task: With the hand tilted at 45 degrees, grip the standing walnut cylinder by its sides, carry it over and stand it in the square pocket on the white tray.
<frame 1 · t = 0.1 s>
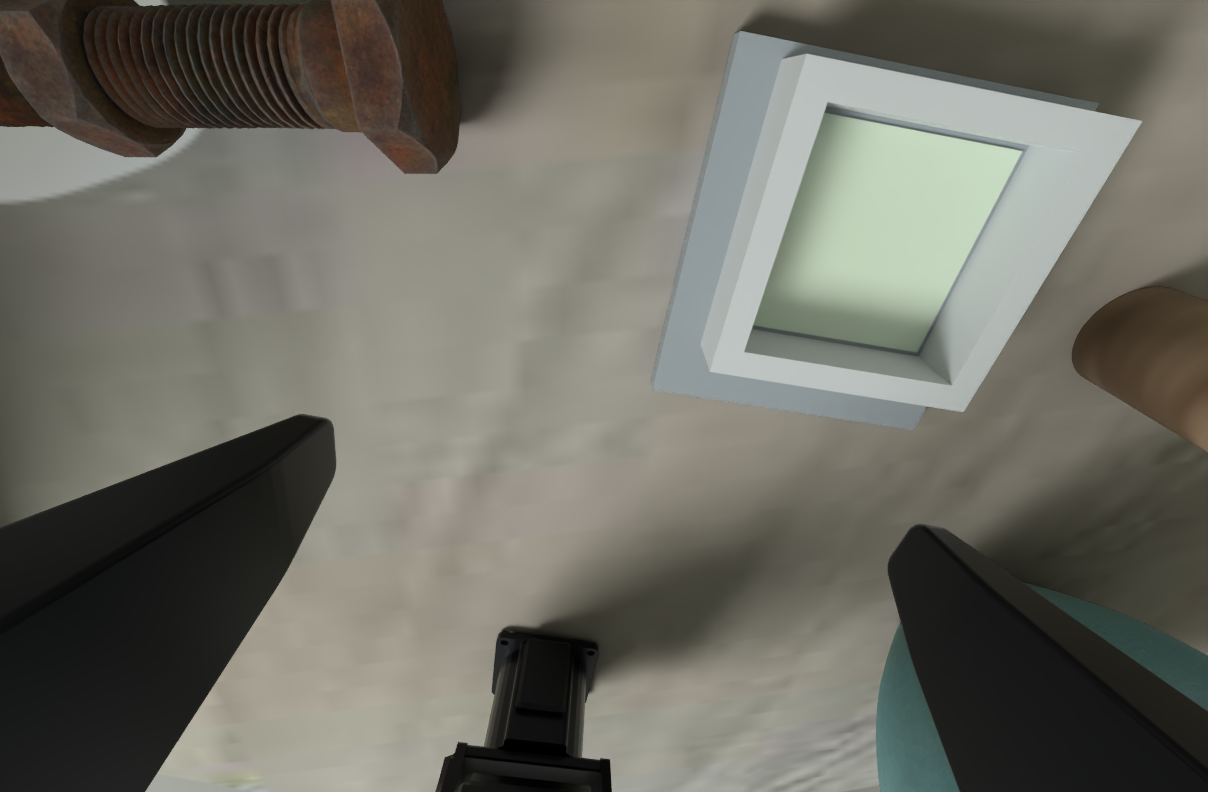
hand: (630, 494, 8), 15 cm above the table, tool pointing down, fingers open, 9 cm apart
white tray: (833, 260, 20), on the table
bolt: (246, 68, 18), on the table
teal bowl: (967, 622, 32), on the table
walnut cylinder: (1129, 337, 22), on the table
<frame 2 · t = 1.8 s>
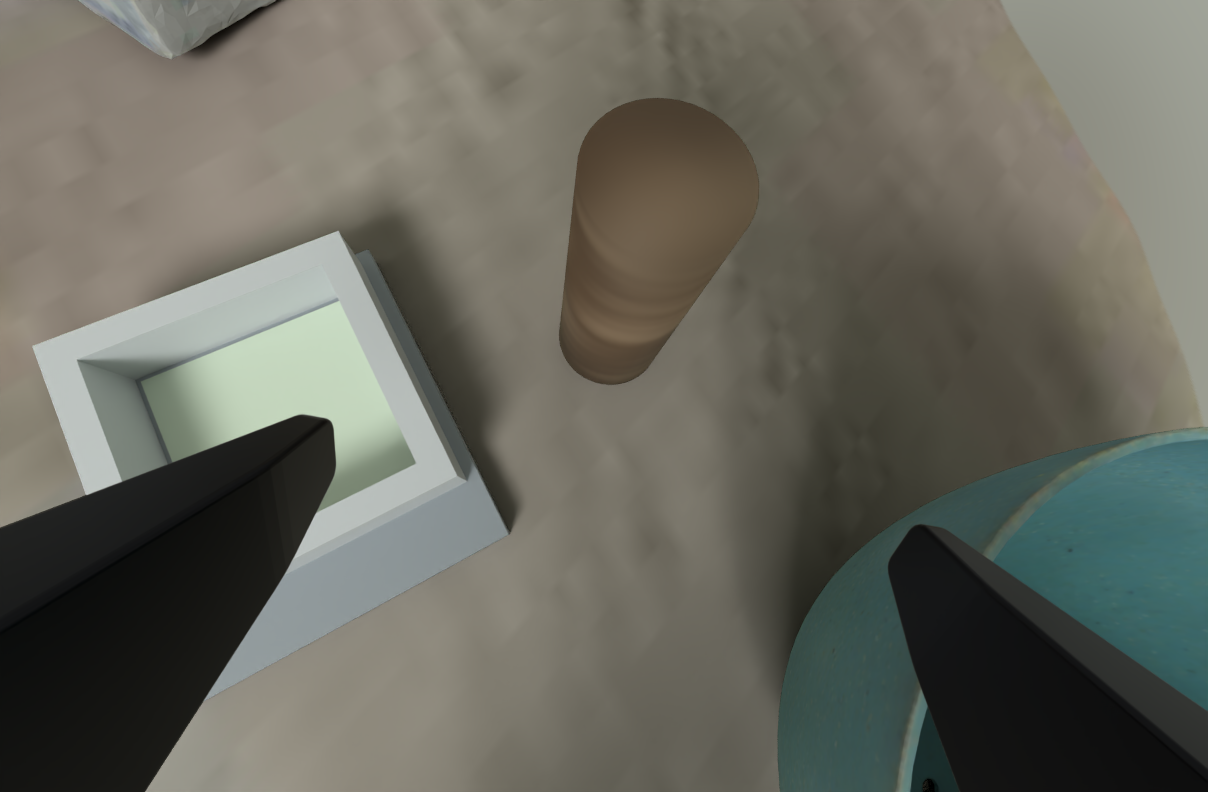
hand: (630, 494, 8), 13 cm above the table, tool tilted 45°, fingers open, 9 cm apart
white tray: (294, 458, 20), on the table
teal bowl: (897, 701, 21), on the table
walnut cylinder: (608, 336, 23), on the table
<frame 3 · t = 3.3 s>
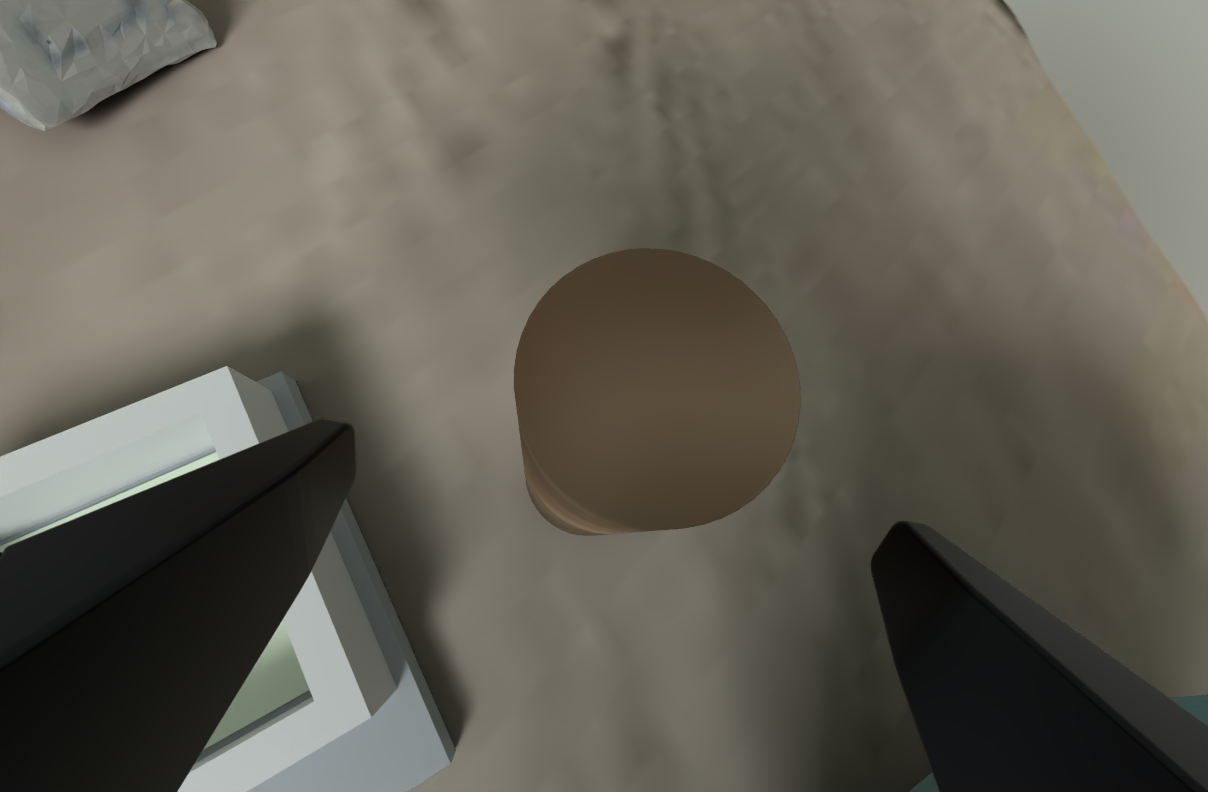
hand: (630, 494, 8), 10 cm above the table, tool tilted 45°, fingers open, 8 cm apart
white tray: (170, 655, 15), on the table
light grey box: (70, 32, 20), on the table
walnut cylinder: (588, 471, 18), on the table
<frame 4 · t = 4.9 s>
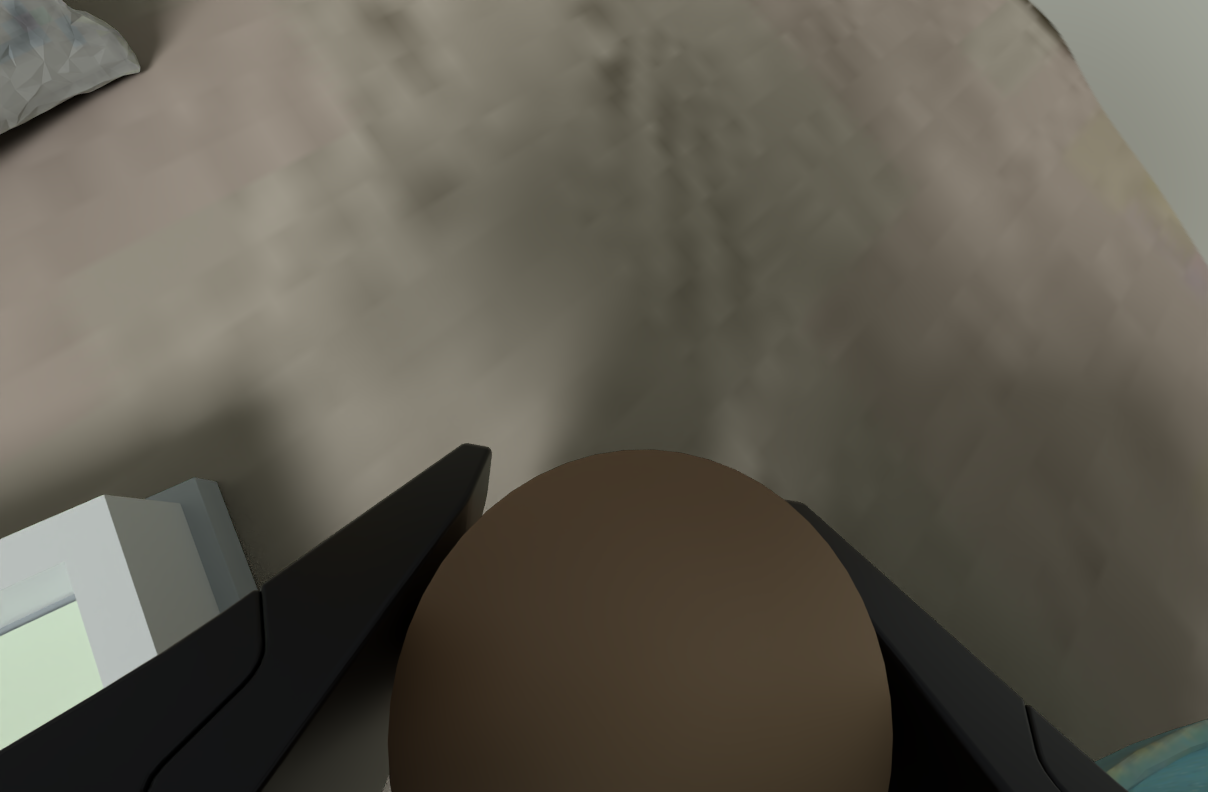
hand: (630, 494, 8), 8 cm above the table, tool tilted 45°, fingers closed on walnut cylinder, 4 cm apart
walnut cylinder: (575, 590, 15), on the table, touching gripper
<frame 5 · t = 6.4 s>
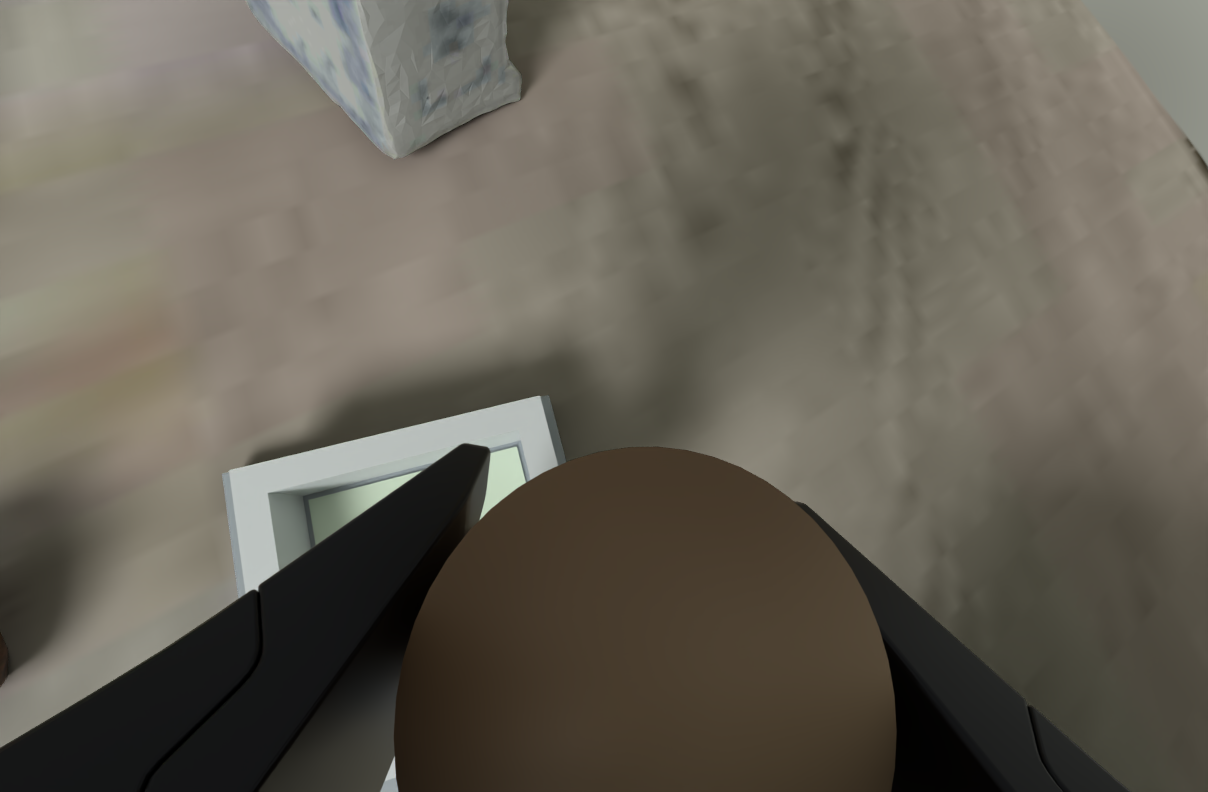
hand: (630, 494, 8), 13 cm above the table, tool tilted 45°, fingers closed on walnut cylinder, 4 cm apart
white tray: (434, 603, 19), on the table
light grey box: (406, 68, 25), on the table
walnut cylinder: (576, 587, 15), point 5 cm above the table, touching gripper
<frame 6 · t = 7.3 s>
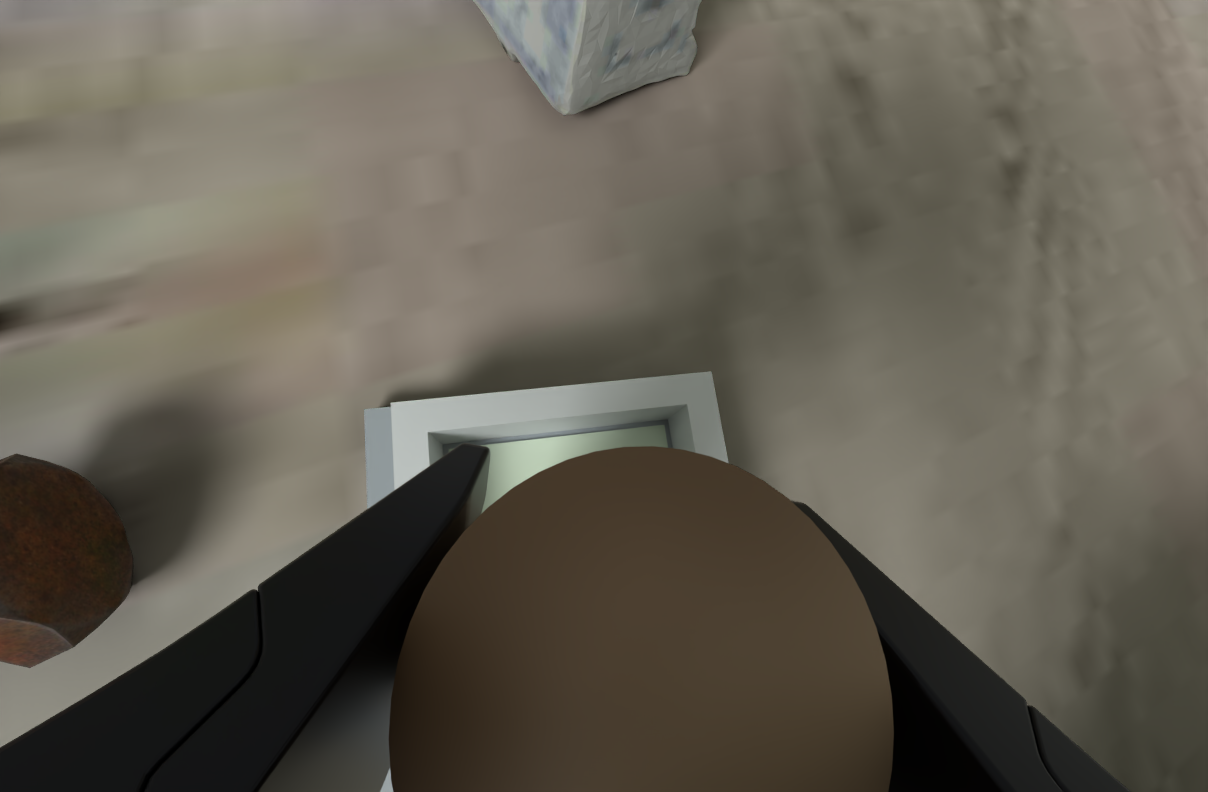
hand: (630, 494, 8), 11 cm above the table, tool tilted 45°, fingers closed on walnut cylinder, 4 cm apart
white tray: (559, 577, 18), on the table
light grey box: (575, 29, 24), on the table
walnut cylinder: (575, 587, 15), point 3 cm above the table, touching gripper
when the fingers open (9 cm above the table, at t = 8.1 s): walnut cylinder stays where it is, resting on white tray.
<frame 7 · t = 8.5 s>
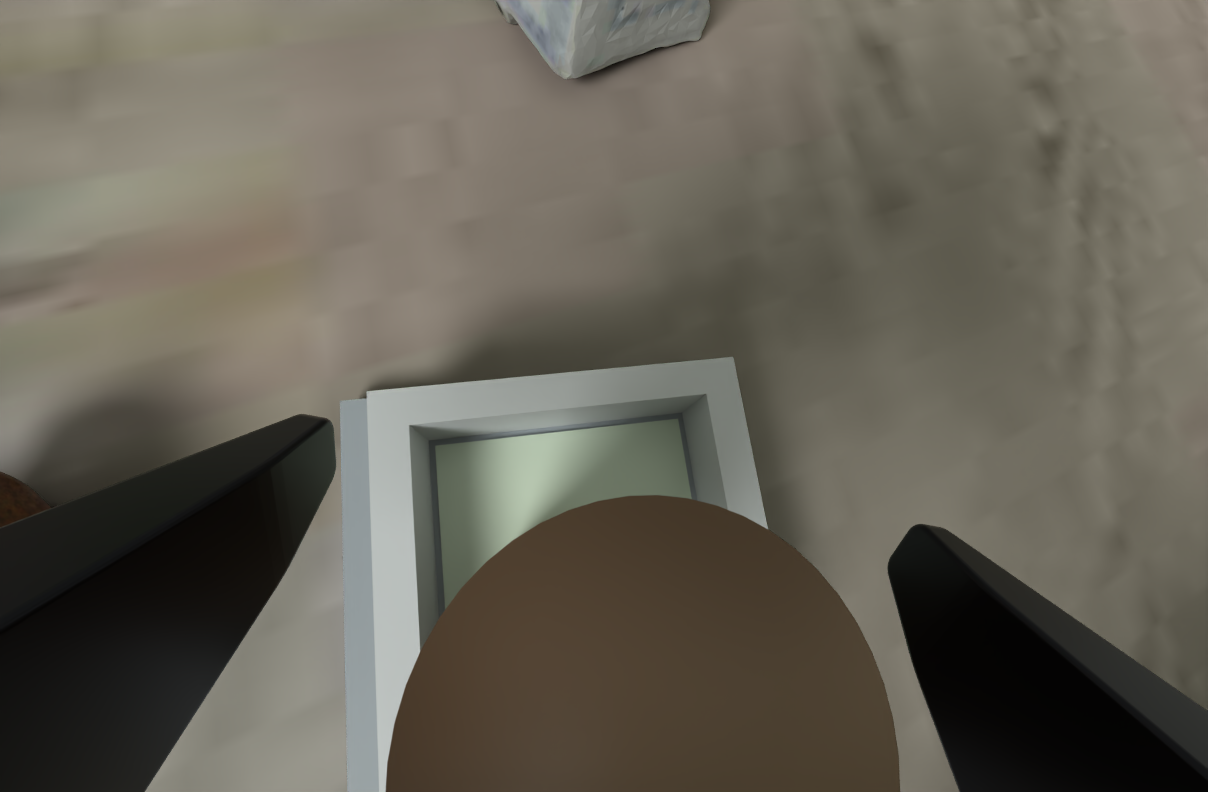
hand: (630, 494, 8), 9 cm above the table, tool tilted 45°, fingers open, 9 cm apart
white tray: (561, 591, 16), on the table
walnut cylinder: (573, 593, 15), point 1 cm above the table, touching white tray
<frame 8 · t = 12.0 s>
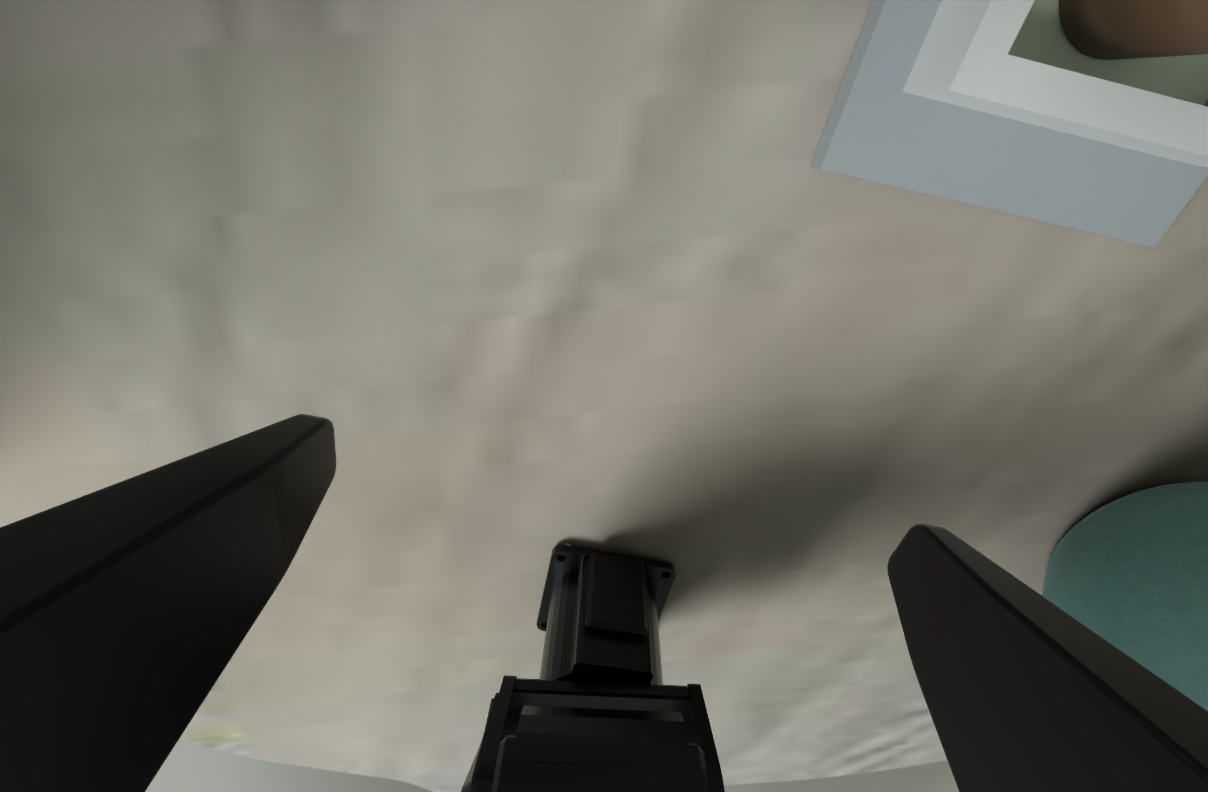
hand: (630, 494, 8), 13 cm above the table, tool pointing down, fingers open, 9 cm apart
teal bowl: (1136, 543, 26), on the table
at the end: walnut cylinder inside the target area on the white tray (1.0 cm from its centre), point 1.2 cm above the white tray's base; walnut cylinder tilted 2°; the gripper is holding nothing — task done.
